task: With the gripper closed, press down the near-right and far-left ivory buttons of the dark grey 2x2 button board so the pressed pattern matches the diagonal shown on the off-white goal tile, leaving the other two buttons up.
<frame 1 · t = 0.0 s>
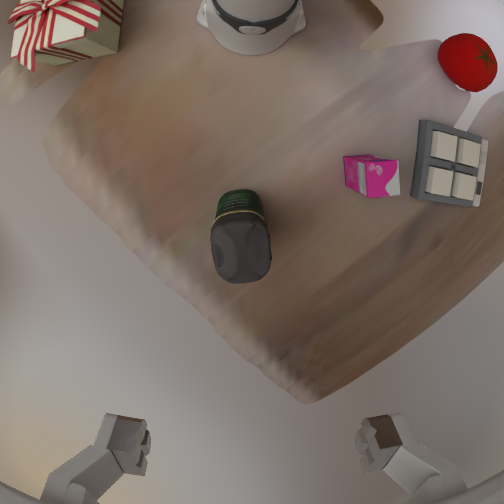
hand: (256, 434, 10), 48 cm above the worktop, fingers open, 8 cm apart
supplement box: (357, 169, 54), on the worktop
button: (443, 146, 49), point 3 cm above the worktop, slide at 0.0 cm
button board: (444, 164, 54), on the worktop
tomato: (450, 65, 46), on the worktop
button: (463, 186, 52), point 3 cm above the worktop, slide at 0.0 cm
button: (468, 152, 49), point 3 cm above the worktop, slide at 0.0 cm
gift box: (91, 32, 41), on the worktop
coffee jar: (240, 215, 57), on the worktop
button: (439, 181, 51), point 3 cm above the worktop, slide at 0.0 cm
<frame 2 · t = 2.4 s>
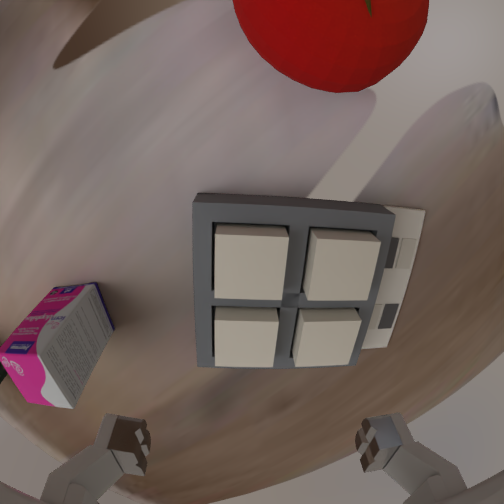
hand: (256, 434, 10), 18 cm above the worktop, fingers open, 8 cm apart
supplement box: (84, 306, 29), on the worktop
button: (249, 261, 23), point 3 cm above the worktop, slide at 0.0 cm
button board: (285, 282, 28), on the worktop
tomato: (306, 28, 20), on the worktop
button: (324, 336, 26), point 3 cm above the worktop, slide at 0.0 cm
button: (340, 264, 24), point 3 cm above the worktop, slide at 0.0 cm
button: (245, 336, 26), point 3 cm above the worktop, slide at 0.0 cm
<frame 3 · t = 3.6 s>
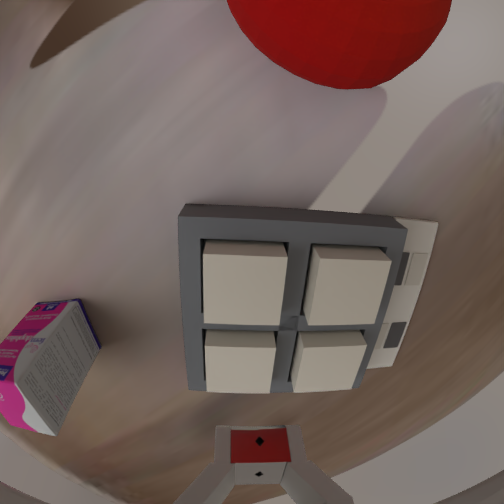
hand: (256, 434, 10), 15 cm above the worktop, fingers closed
supplement box: (68, 322, 26), on the worktop
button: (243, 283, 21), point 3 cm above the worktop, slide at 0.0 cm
button board: (283, 301, 25), on the worktop
tomato: (308, 17, 17), on the worktop
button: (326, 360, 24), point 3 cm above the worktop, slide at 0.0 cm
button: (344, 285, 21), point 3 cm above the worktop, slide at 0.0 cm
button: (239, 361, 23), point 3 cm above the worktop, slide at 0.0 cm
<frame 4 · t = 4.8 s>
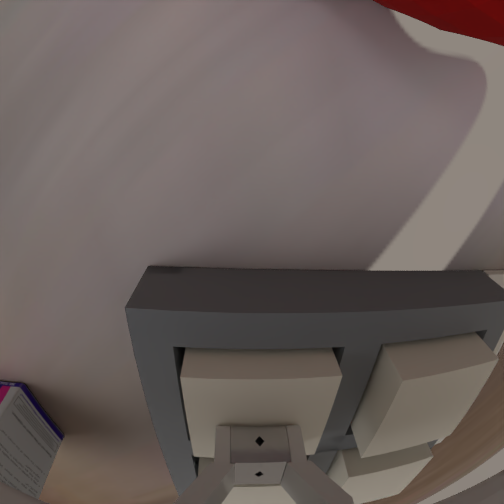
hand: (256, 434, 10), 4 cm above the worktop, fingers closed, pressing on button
supplement box: (20, 404, 16), on the worktop
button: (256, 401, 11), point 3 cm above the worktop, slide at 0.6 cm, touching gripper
button board: (315, 400, 15), on the worktop
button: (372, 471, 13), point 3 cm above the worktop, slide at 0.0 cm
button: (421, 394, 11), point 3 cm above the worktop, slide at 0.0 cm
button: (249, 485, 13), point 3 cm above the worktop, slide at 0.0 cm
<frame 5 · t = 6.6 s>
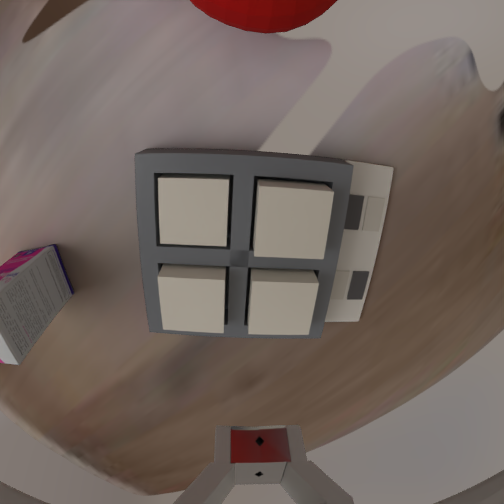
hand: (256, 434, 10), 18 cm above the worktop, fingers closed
supplement box: (46, 270, 27), on the worktop
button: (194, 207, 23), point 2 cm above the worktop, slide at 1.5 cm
button board: (239, 242, 27), on the worktop
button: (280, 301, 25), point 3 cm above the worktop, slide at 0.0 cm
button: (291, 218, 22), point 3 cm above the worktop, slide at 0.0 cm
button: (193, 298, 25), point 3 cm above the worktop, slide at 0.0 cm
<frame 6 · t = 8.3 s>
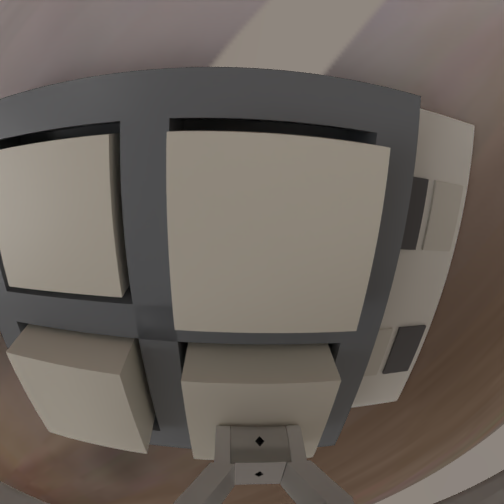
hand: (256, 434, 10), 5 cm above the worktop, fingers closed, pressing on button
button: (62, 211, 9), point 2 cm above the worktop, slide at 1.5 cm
button board: (171, 281, 13), on the worktop
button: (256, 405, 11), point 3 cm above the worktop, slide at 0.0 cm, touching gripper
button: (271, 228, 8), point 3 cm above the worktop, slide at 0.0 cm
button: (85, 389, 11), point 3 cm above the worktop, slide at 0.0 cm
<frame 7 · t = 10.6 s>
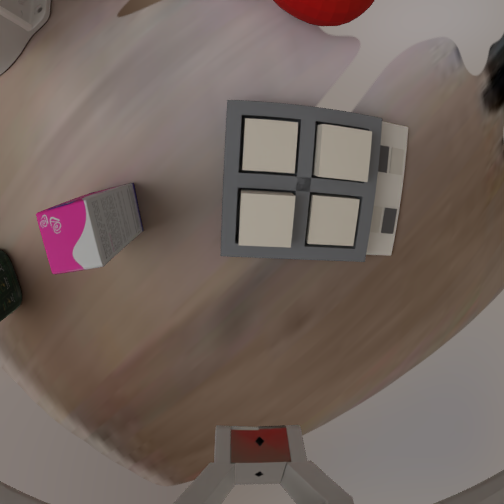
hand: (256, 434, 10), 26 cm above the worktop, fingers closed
supplement box: (116, 210, 33), on the worktop
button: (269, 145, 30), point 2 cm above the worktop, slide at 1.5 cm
button board: (298, 180, 33), on the worktop
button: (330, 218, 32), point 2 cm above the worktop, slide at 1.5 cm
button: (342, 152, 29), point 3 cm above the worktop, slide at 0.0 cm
coffee jar: (3, 277, 35), on the worktop
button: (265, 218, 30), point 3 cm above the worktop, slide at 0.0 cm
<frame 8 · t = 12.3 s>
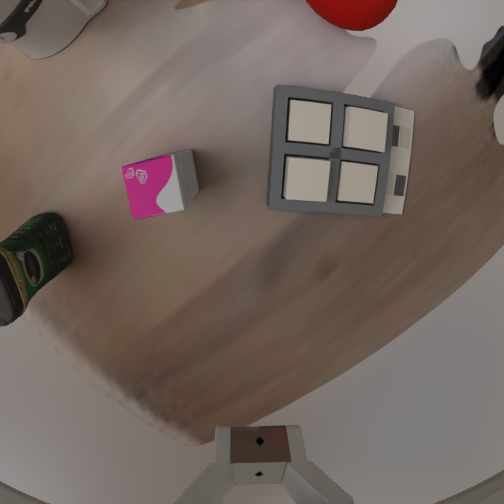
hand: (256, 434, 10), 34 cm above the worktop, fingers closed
supplement box: (175, 173, 40), on the worktop
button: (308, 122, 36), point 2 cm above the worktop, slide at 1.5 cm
button board: (328, 151, 39), on the worktop
tomato: (334, 3, 31), on the worktop
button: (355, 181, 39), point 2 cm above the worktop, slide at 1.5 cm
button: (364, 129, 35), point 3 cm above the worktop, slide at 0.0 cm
coffee jar: (52, 240, 42), on the worktop
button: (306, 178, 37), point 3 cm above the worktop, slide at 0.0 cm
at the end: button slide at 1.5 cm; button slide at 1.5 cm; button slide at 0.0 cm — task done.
